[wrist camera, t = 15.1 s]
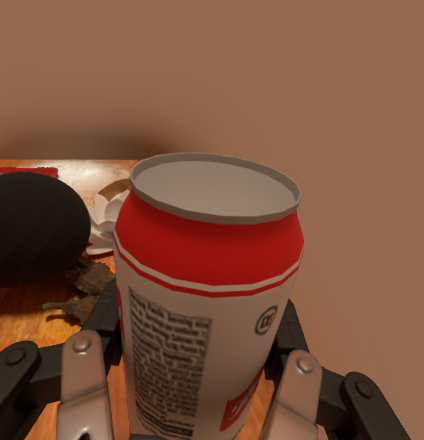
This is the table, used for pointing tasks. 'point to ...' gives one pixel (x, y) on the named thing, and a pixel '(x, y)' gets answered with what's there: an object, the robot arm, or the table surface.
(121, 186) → the stone
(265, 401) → the table surface
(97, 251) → the lotus flower
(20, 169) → the logo
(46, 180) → the toy
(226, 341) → the beer can
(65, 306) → the seahorse
